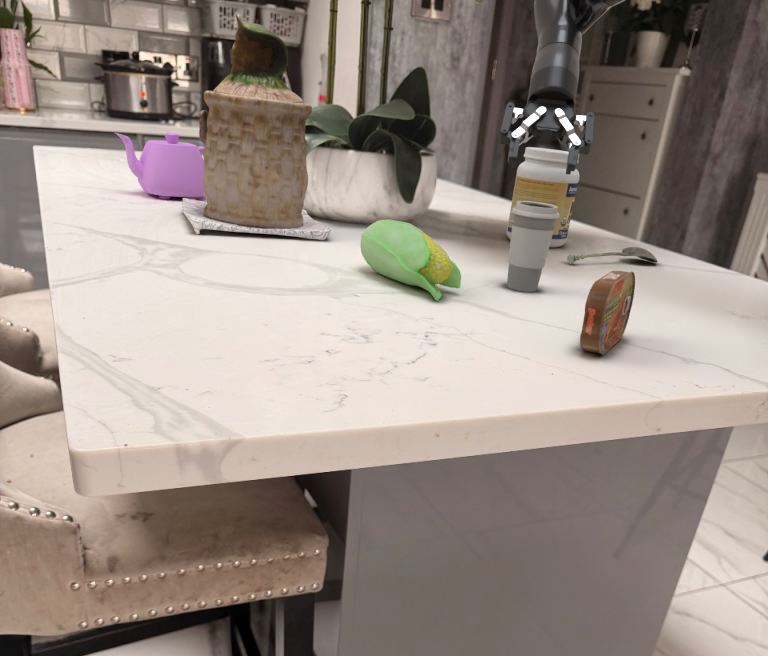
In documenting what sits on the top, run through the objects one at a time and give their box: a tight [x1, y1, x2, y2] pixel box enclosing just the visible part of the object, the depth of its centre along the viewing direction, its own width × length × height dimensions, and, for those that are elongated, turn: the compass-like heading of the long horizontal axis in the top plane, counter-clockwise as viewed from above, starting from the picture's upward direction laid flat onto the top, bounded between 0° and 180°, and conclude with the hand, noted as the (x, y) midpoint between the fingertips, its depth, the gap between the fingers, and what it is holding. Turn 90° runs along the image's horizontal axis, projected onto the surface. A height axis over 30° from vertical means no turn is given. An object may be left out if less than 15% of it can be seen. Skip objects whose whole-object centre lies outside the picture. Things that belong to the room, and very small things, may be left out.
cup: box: [506, 201, 560, 293], centre depth 113 cm, size 7×7×12 cm
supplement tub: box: [506, 146, 580, 248], centre depth 150 cm, size 12×12×17 cm
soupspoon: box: [566, 246, 659, 265], centre depth 142 cm, size 22×3×7 cm
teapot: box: [114, 132, 206, 200], centre depth 155 cm, size 20×13×12 cm, turn 120°
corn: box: [360, 218, 462, 302], centre depth 110 cm, size 8×8×20 cm
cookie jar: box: [181, 13, 331, 241], centre depth 131 cm, size 25×25×32 cm
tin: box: [579, 270, 636, 356], centre depth 91 cm, size 15×3×8 cm, turn 151°
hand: (541, 167), depth 118 cm, fingers open, 8 cm apart
